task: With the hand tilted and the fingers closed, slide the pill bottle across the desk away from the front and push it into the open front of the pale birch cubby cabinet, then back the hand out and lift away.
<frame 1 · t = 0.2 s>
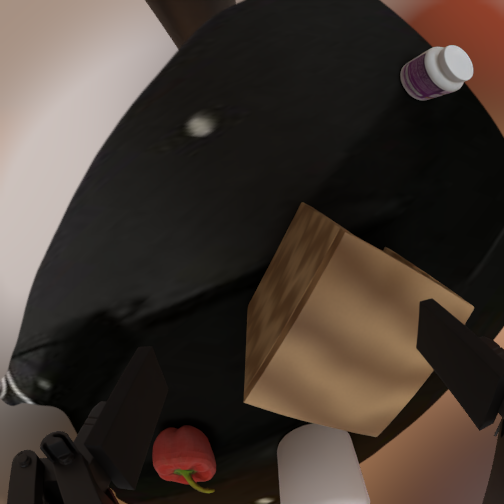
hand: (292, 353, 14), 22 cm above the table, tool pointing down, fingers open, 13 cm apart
vegetable: (190, 436, 44), on the table
pill bottle: (416, 82, 30), on the table
cubby: (322, 278, 36), on the table
white jar: (313, 443, 44), on the table
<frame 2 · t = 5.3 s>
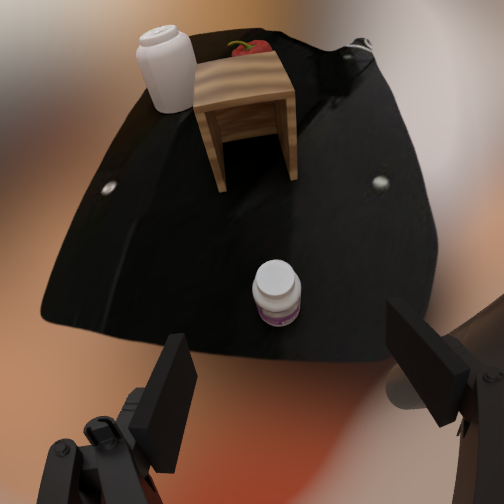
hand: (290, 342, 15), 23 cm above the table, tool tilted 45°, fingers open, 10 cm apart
vegetable: (254, 73, 71), on the table
pill bottle: (279, 308, 40), on the table
cubby: (253, 157, 54), on the table
white jar: (180, 100, 68), on the table
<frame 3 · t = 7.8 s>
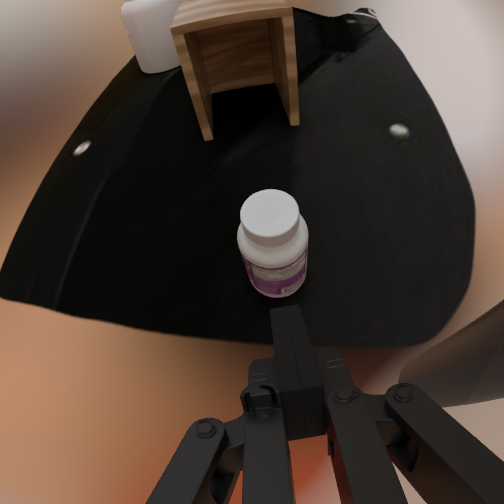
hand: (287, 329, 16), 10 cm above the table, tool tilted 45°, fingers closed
pill bottle: (277, 273, 29), on the table
cubby: (246, 105, 43), on the table
white jar: (168, 62, 57), on the table
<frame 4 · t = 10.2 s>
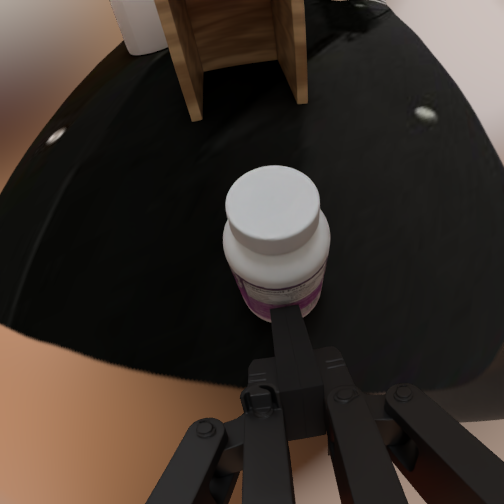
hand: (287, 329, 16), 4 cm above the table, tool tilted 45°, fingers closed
pill bottle: (281, 289, 21), on the table, touching gripper
cubby: (244, 82, 35), on the table
white jar: (158, 43, 49), on the table
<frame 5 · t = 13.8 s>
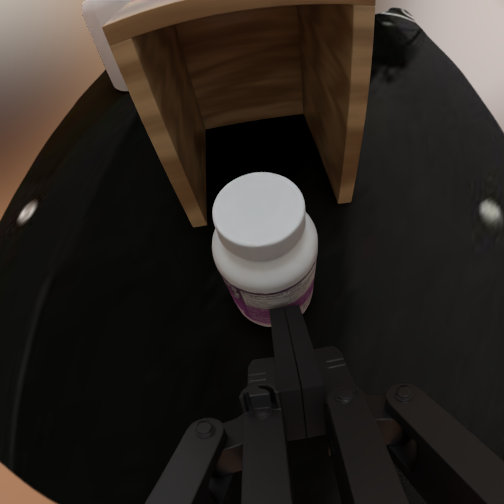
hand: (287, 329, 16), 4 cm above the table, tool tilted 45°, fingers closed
pill bottle: (273, 293, 21), on the table, touching gripper
cubby: (261, 155, 28), on the table
white jar: (150, 73, 42), on the table
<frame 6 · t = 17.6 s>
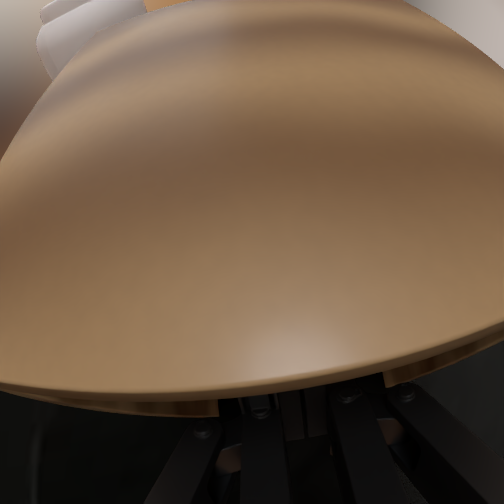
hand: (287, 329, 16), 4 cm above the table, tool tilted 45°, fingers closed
cubby: (287, 303, 21), on the table
white jar: (133, 122, 35), on the table
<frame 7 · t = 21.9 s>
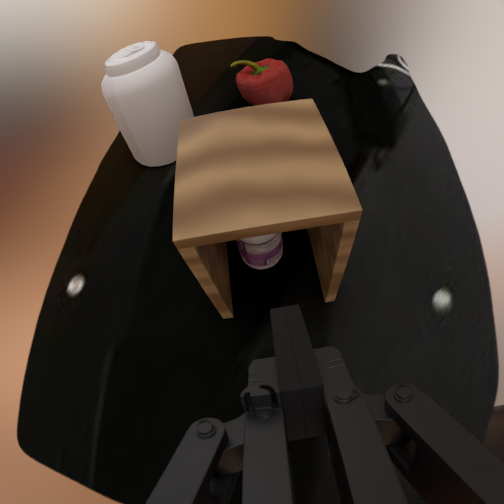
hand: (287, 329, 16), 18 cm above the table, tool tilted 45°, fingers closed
vegetable: (265, 103, 55), on the table
pill bottle: (261, 252, 39), resting in cubby
cubby: (270, 257, 39), on the table
white jar: (166, 145, 53), on the table
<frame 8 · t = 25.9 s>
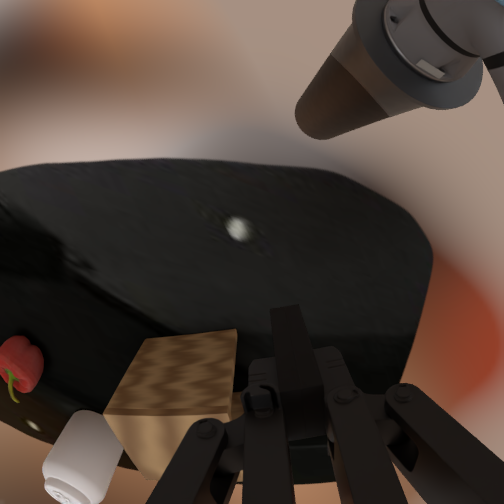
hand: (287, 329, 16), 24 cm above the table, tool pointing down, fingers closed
vegetable: (32, 353, 46), on the table
cubby: (199, 369, 45), on the table
white jar: (99, 429, 50), on the table
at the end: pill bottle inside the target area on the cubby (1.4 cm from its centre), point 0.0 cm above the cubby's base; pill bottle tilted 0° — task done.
